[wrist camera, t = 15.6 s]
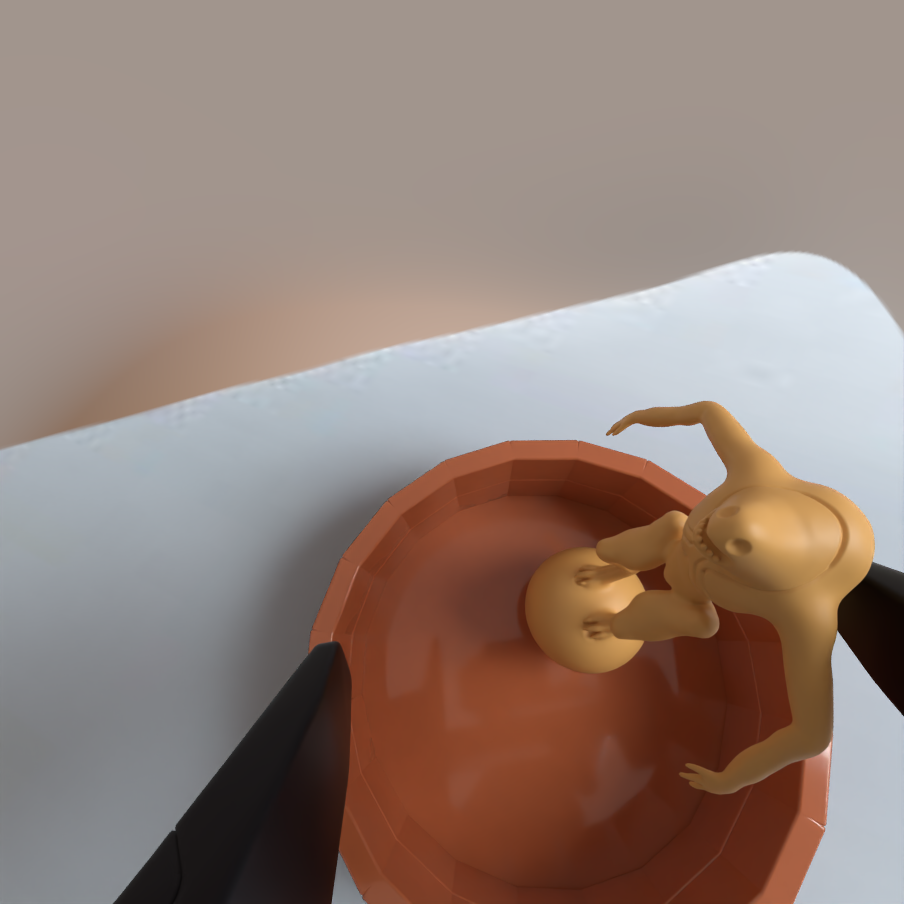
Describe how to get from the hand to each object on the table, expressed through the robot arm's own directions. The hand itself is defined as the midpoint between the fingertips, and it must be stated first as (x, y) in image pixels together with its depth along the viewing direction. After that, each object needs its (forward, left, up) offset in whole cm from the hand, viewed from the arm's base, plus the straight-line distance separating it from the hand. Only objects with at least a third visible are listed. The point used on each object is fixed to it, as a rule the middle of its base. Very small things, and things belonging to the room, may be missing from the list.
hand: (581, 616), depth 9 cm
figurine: (+1, -3, -10) cm, 10 cm away
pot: (-1, -1, -10) cm, 11 cm away
